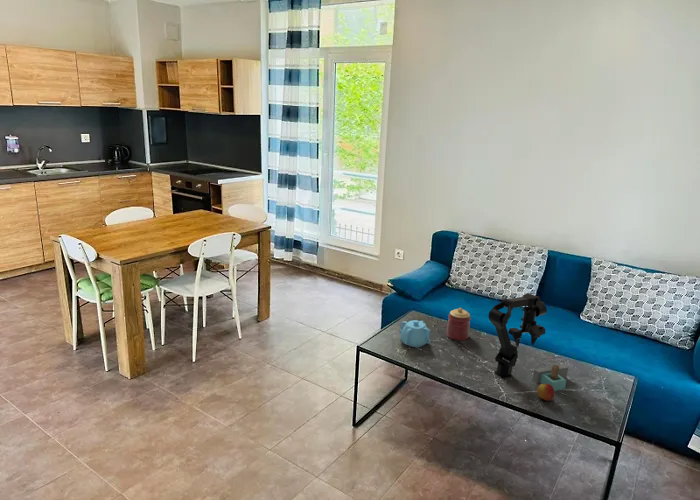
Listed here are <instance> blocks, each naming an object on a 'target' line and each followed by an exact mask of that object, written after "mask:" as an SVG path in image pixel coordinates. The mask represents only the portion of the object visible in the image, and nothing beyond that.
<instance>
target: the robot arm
mask: <svg viewBox="0 0 700 500" xmlns="http://www.w3.org/2000/svg"><path fill="white" fill-rule="evenodd" d="M504 308H507V311H506V313H505V312H503V311H501V310H502V309H504ZM515 308H516V309H517V308H522V309H521V311H523V316H522V317H521V318H520V321H522V322H521V325H520V326H519V328H520V329H519V328H517V327H509V328H508V327H507V324H508V322H509V320H510V318H511V317H512V311H513V309H515ZM547 312H548V309H547V306H546V304H545V302H544V301H541V299H540V296H538V295H535V294H532V293H529V292H527V293H525V294H523V295H522V296H519V297H512V298H503V299H502V300H501V302H499V303H497V304H495V305H494V306H493V307H492V308H491V310H489V312H488V316H487V317H488V320H489V321H490V323H491V324H492V325H493V326H494V328H495V330H496V334H497V337H498V342H499V345H500V348H499V351H498V353H497V354H496V356H495V357H494V360H495V362H497V367H496V370H494V373H495V374H496V375H497V376H498V377H500V378H501V379H505V378H511V377H514V375H513V374H512V371H513V367H515V366H516V364H517V360H518V359H519V355H518V354H519V351H518V348H519V345H520V341H521V339H522V338H523V334H526V333H527V334H529V335H530V344H531V346H534V345H535V343H536V342H537V340H538V338H540V337H541V336H543V335H545V334H546V328H545V327H544V326H542V325H540V324H537V321H536V317H540V316H543V315H545V314H547ZM509 335H511V336H512V338H513V340H514V344H515V345H514V344H512V342H511V339H510V336H509Z"/></svg>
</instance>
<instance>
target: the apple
mask: <svg viewBox="0 0 700 500" xmlns="http://www.w3.org/2000/svg"><path fill="white" fill-rule="evenodd" d="M536 393H537V396H538V398H539V399H542V400H544V401H546V402H550V401H552V400H553V399H554V397H555V391H554V388H553V387H552V385H550V384H541V383H539V385H538V386H537V389H536Z"/></svg>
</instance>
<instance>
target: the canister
mask: <svg viewBox="0 0 700 500" xmlns="http://www.w3.org/2000/svg"><path fill="white" fill-rule="evenodd" d="M447 317H448V320H447V329H446V336H447V337H448V338H449V339H452V340H456V341H465V340H467V339H469V336H470V328H471V327H470V326H471V322H470V321H471V320H472V318H471V315H470V313H469V312H468V311H467V310H466V309H463V308H462V307H459V308H455V309H453V310H450V312H449V314H448V315H447Z"/></svg>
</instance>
